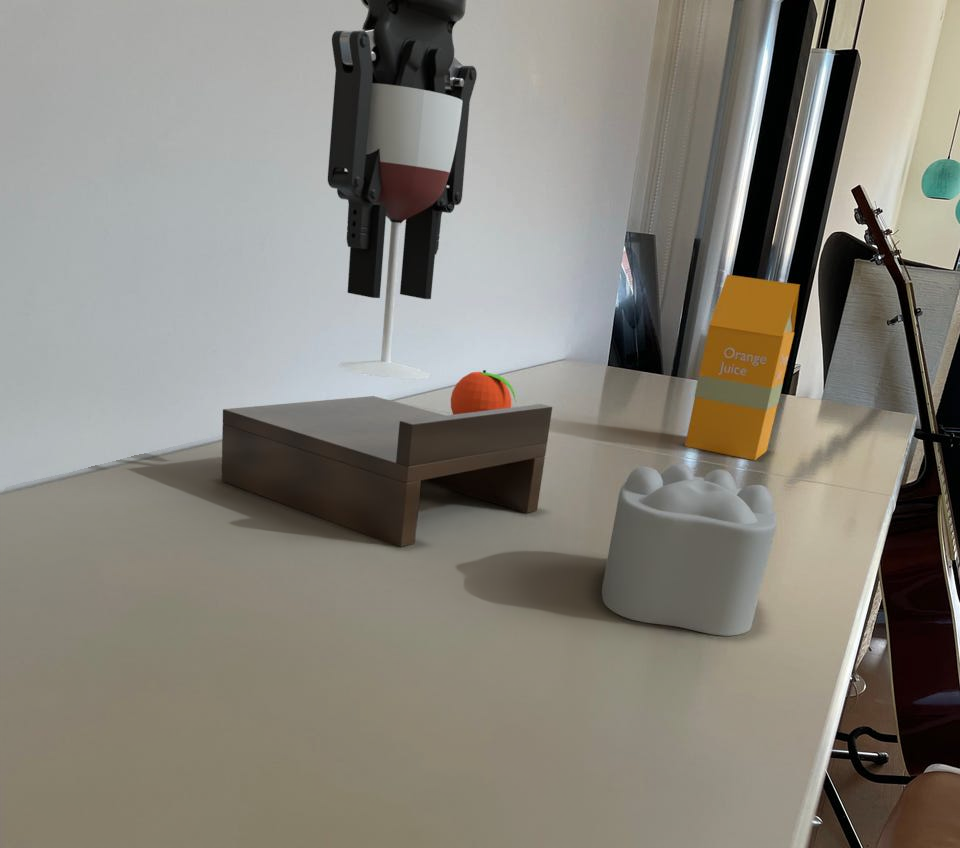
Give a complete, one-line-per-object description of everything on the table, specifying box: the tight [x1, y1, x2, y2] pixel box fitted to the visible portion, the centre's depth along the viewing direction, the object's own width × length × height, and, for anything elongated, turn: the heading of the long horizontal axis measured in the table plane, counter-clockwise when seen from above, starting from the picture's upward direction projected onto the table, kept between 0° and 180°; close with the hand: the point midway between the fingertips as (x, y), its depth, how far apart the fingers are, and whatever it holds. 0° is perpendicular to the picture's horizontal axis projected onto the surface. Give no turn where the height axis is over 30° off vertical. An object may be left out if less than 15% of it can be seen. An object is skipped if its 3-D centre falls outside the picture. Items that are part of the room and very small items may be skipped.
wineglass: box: [338, 83, 463, 380], centre depth 77 cm, size 8×9×20 cm
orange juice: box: [684, 274, 801, 461], centre depth 119 cm, size 8×9×20 cm
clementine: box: [450, 369, 517, 415], centre depth 112 cm, size 8×7×7 cm
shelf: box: [221, 395, 553, 548], centre depth 82 cm, size 20×18×9 cm
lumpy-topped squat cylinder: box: [601, 463, 777, 637], centre depth 68 cm, size 10×13×9 cm
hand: (390, 295), depth 78 cm, fingers closed on wineglass, 5 cm apart
